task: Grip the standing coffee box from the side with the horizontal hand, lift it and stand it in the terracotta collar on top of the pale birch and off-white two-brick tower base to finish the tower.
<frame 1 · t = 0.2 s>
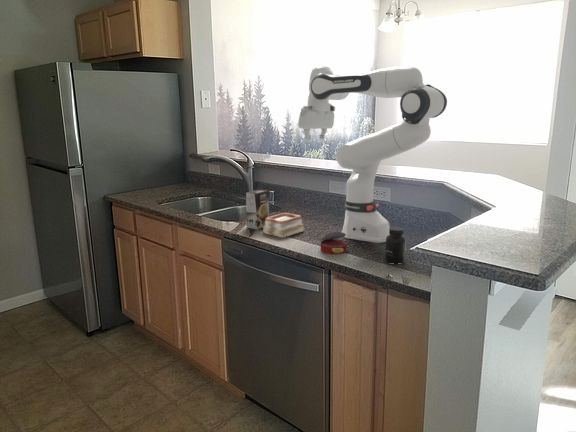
hand: (314, 139, 200), 39 cm above the worktop, tool pointing down, fingers open, 8 cm apart
tower base: (283, 231, 198), on the worktop
coffee box: (258, 226, 207), on the worktop
supplement bottle: (394, 262, 160), on the worktop
canned food: (333, 251, 173), on the worktop
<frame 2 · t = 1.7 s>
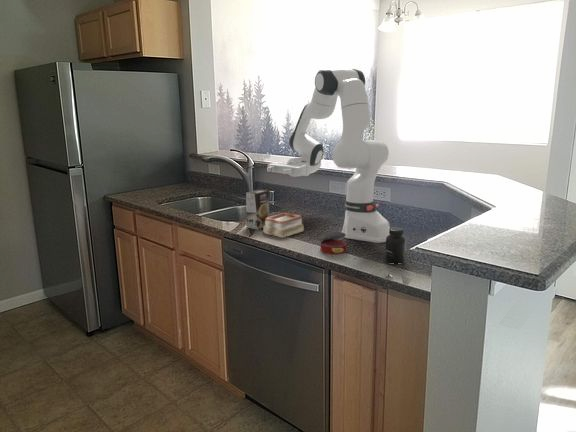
hand: (275, 170, 210), 24 cm above the worktop, tool horizontal, fingers open, 8 cm apart
nothing on the worktop moved.
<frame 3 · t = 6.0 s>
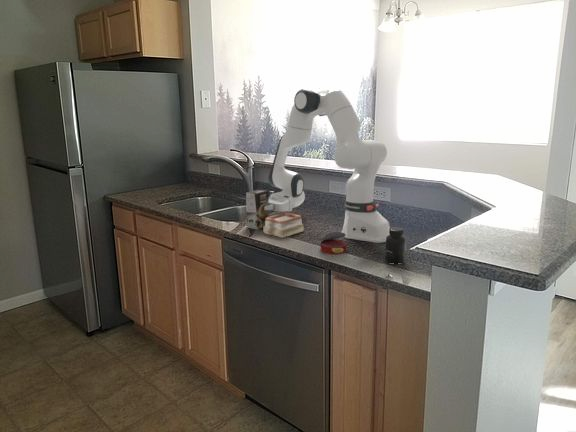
hand: (257, 207, 204), 9 cm above the worktop, tool horizontal, fingers closed on coffee box, 7 cm apart
coffee box: (258, 226, 207), on the worktop, touching gripper
everything else where it was.
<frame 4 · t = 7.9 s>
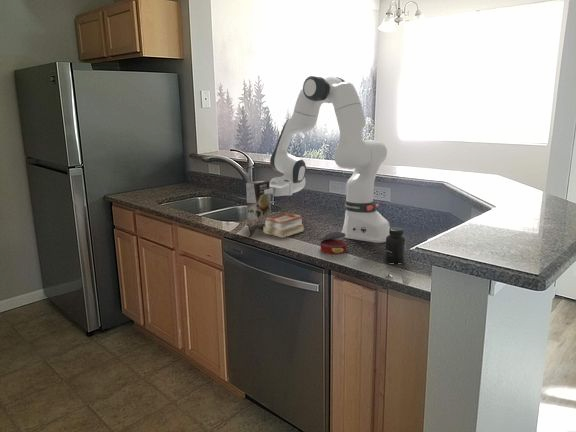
hand: (257, 191, 202), 16 cm above the worktop, tool horizontal, fingers closed on coffee box, 6 cm apart
coffee box: (259, 217, 205), point 4 cm above the worktop, touching gripper
everything else where it was.
when the fingers open (22 cm above the worktop, at t = 9.6 s): coffee box drops 3 cm, resting on tower base.
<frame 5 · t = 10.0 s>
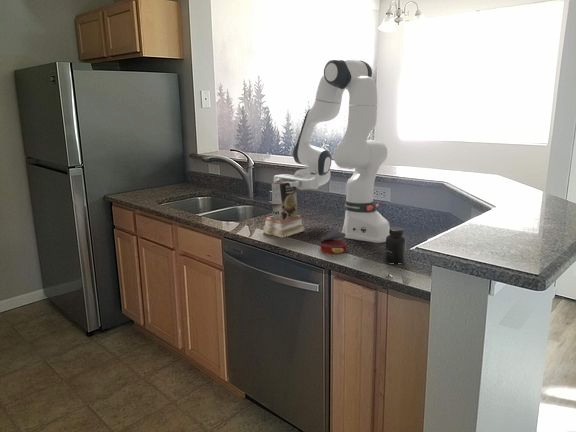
hand: (282, 183, 192), 21 cm above the worktop, tool horizontal, fingers open, 6 cm apart
coffee box: (285, 219, 196), point 5 cm above the worktop, touching tower base
everything else where it was.
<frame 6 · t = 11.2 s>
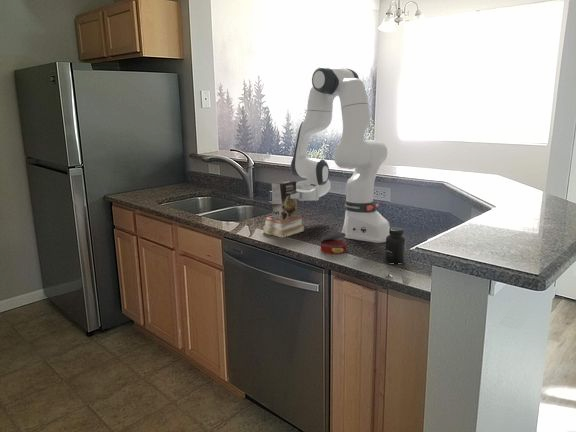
hand: (282, 195, 193), 16 cm above the worktop, tool horizontal, fingers open, 7 cm apart
coffee box: (285, 219, 196), point 5 cm above the worktop, touching gripper, tower base
everything else where it was.
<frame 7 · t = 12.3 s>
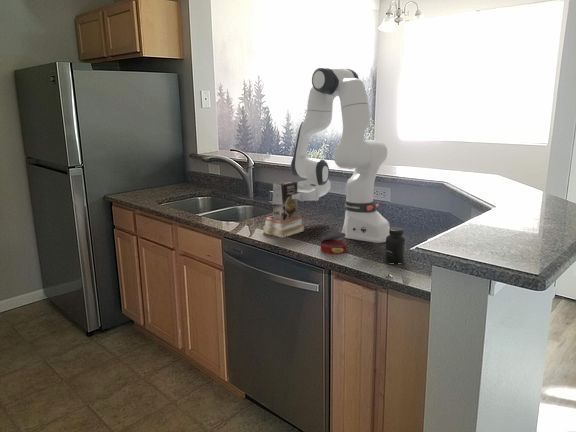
hand: (282, 195, 193), 16 cm above the worktop, tool horizontal, fingers open, 8 cm apart
coffee box: (285, 220, 196), point 5 cm above the worktop, touching tower base
everything else where it was.
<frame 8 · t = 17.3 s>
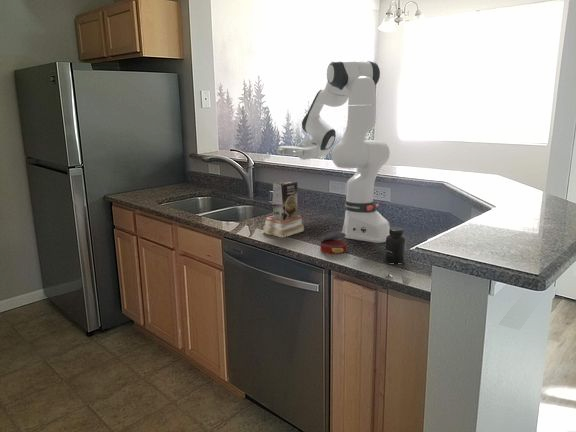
hand: (286, 152, 209), 32 cm above the worktop, tool horizontal, fingers open, 8 cm apart
nothing on the worktop moved.
at the end: coffee box 0.9 cm off-centre on the tower base, point 5.3 cm above the tower base's base; coffee box tilted 0°; the gripper is holding nothing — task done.
